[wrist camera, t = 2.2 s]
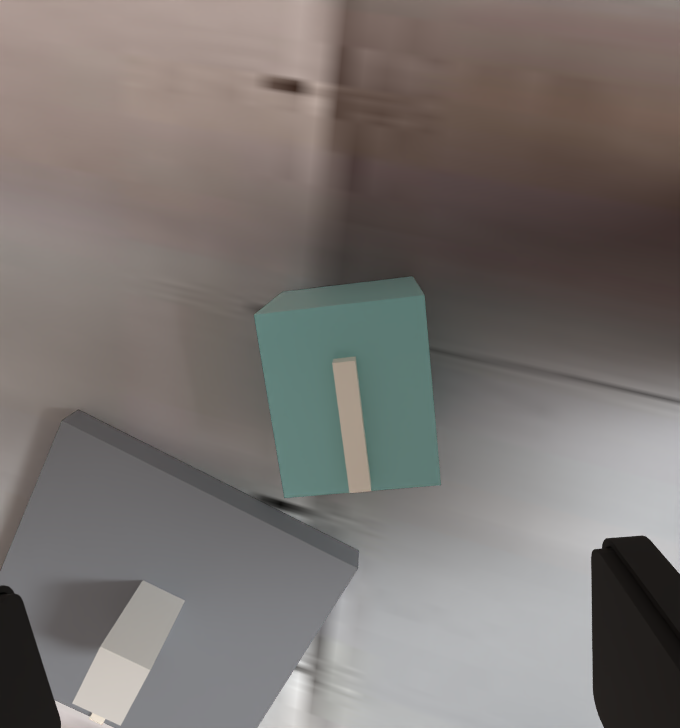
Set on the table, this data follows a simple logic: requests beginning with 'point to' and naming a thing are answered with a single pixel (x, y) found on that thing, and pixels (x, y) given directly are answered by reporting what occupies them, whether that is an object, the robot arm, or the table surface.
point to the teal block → (350, 387)
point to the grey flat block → (164, 585)
